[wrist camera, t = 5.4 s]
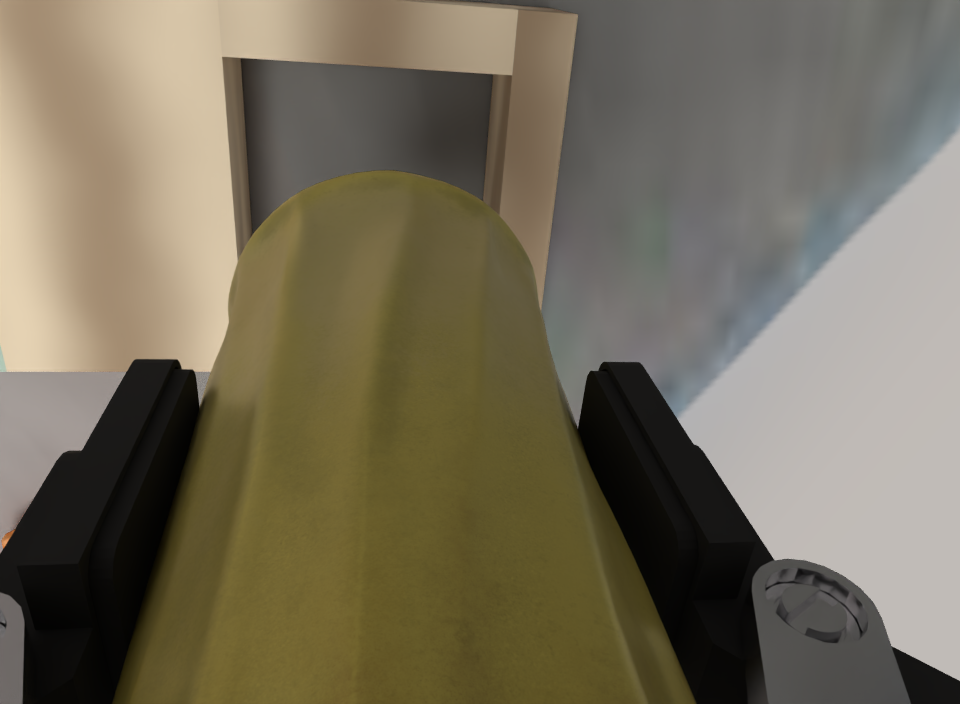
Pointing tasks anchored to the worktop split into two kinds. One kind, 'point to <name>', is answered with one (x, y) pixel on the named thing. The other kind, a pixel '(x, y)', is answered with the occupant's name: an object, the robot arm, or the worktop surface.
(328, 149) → the worktop surface
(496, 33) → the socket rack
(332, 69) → the worktop surface
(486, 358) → the vase
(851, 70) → the worktop surface
